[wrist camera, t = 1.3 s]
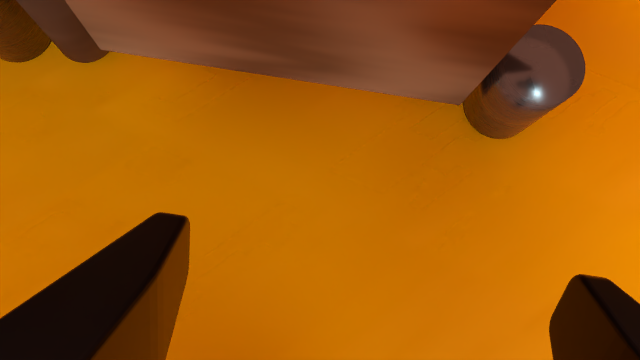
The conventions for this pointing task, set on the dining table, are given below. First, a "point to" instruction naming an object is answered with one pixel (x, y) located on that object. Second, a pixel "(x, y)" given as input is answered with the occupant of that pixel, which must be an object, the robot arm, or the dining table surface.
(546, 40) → the brown gate
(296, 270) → the dining table surface
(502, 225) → the dining table surface
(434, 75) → the gate leaf
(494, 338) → the dining table surface
